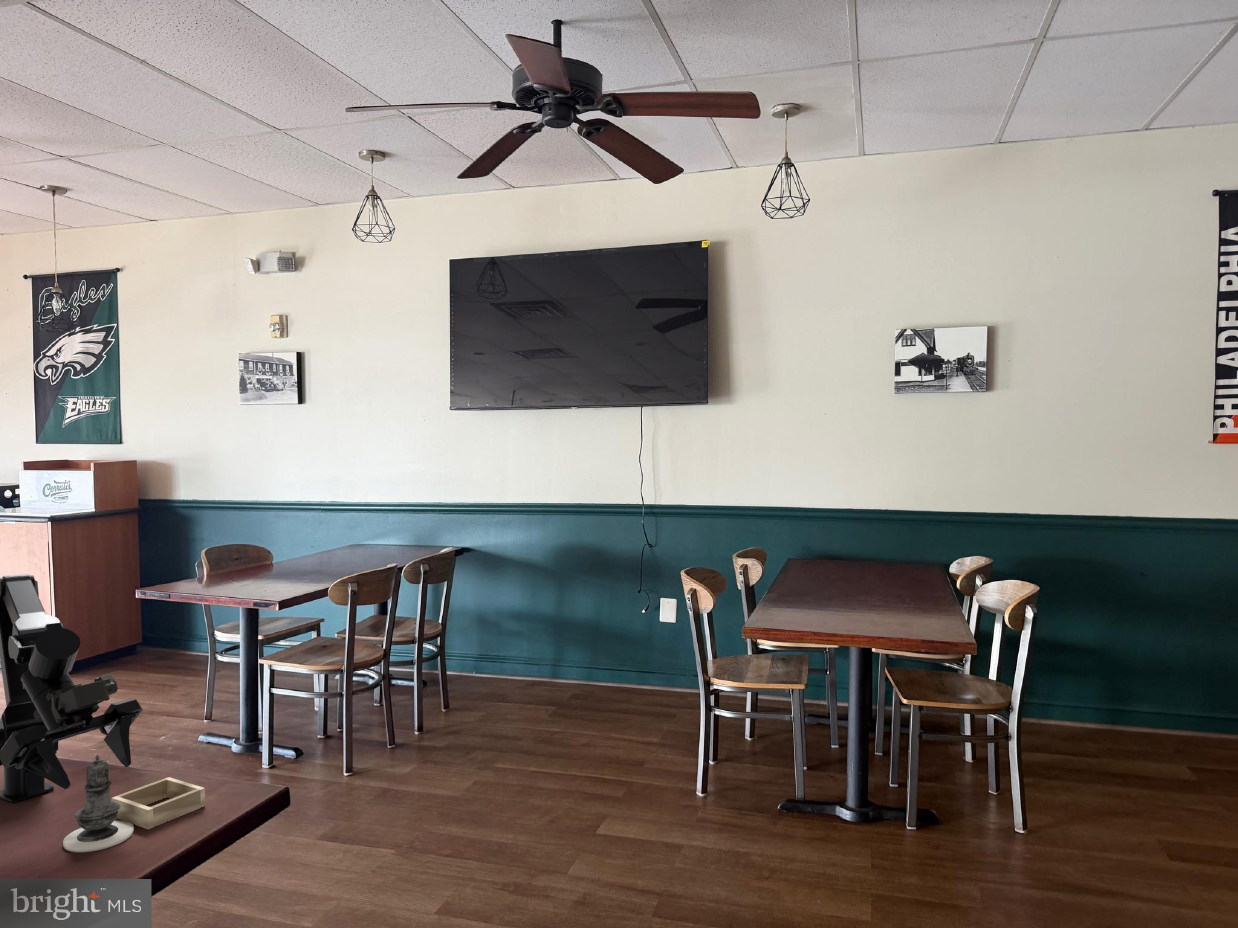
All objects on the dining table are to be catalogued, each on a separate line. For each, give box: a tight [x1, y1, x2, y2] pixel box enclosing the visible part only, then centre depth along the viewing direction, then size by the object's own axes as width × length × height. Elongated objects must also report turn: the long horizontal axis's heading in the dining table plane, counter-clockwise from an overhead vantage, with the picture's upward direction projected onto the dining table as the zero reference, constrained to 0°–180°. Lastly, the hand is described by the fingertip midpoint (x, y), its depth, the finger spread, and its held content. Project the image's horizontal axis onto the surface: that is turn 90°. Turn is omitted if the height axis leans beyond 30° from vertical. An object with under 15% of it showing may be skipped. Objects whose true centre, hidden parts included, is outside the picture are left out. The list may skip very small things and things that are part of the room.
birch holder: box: [110, 776, 206, 830], centre depth 133 cm, size 10×10×3 cm
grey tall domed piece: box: [74, 754, 121, 842], centre depth 123 cm, size 6×6×12 cm
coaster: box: [62, 820, 135, 853], centre depth 123 cm, size 9×9×1 cm
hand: (99, 775), depth 123 cm, fingers open, 9 cm apart
